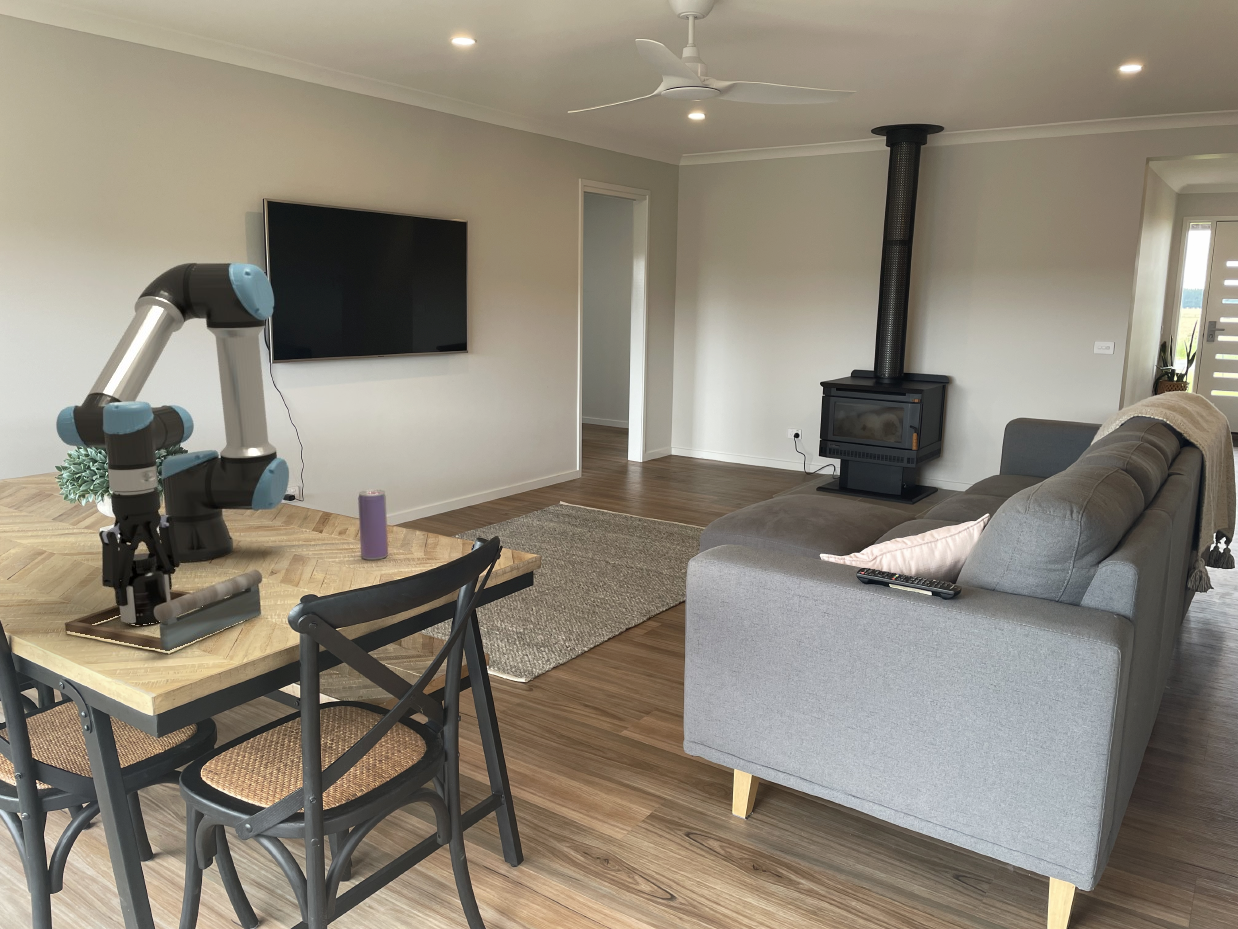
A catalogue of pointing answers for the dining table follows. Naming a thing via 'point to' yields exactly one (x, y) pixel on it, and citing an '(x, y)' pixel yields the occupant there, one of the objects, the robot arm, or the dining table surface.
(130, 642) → the bay
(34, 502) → the dining table surface
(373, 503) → the beverage can
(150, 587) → the supplement bottle
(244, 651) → the dining table surface
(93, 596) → the dining table surface
